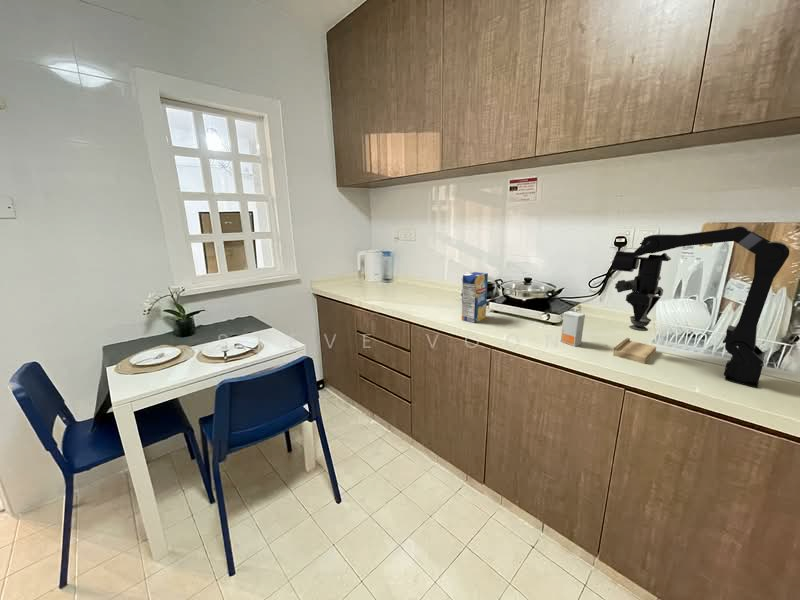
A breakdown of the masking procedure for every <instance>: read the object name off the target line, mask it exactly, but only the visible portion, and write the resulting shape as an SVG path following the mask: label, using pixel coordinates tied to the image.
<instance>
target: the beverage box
mask: <svg viewBox="0 0 800 600" xmlns="http://www.w3.org/2000/svg"><path fill="white" fill-rule="evenodd" d="M488 278H489V275H488V273H486V272H477V271H474V272H469V273H464V274H462V292H461V293H462V295H461V296H462V297H461V300H462V301H461V321H463V322H468V323H471V324H475V323H478V322H480V321H482V320H484V319H486V318H487V317H486V316H487V297H488V296H487V294H488Z"/></svg>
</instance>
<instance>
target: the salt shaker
mask: <svg viewBox="0 0 800 600" xmlns="http://www.w3.org/2000/svg"><path fill="white" fill-rule="evenodd" d="M648 309H649V308H648ZM648 309H647V311H648ZM647 311H646V312H645V314H644V315H643V317H642V318H641V320H640V321H639V322H637V321H635V317H634V315H631V316H629V319H630V323H631V324H632V325H629V326H628V327H629V329H630V330H634V331H640V332H647V331H649V329H648V328H647V326H648V325H650V323H651V322H652V319H651V318H649V317H648V315H647Z"/></svg>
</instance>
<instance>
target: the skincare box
mask: <svg viewBox="0 0 800 600" xmlns="http://www.w3.org/2000/svg"><path fill="white" fill-rule="evenodd" d="M585 318H586V315H585V314H584V313H580V312H575V311H571V310H569V311H565V312H563V319H562V324H561V325H562V326H561V333H560V340H559V341H560V342H561V343H564V344H567V345H570V346H572V347H577V346H580V345H581V344H582V338H583V331H584V324H585Z"/></svg>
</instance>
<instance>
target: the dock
mask: <svg viewBox="0 0 800 600" xmlns="http://www.w3.org/2000/svg"><path fill="white" fill-rule="evenodd" d="M630 339H631V338H629V337H626V338H625V339H623V340H621V342H619V343H618V344H617V345H616V346H614V347H613V351H612V353H613V354H612V356H613V357H618V358H622V359H626V360H630V361H633V362H637V363H640V364H646V363H647V361H649V359H651V357H652V356H653V355H654V354H656V351H657V346H655V345H650V344H646V343H643V342H637V341H632V340H630Z"/></svg>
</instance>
